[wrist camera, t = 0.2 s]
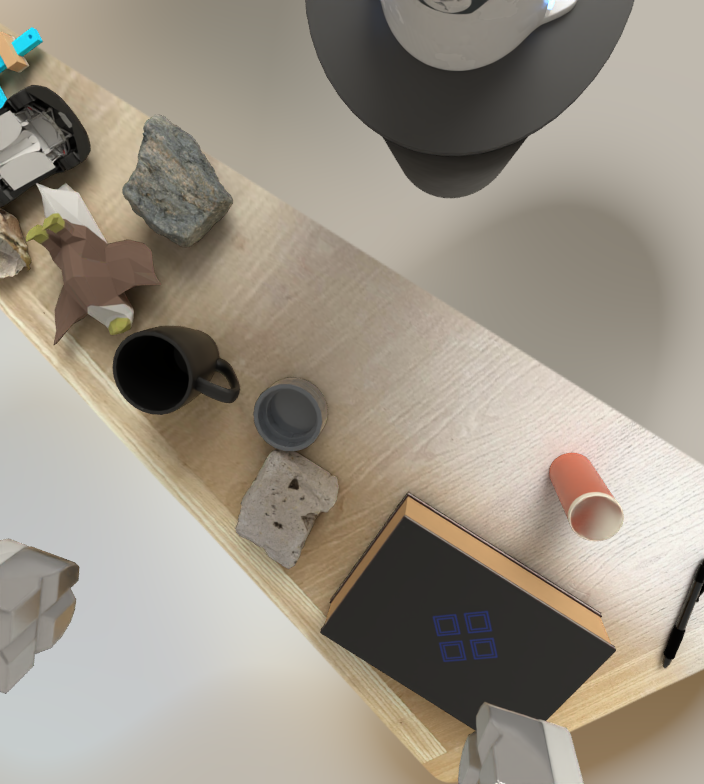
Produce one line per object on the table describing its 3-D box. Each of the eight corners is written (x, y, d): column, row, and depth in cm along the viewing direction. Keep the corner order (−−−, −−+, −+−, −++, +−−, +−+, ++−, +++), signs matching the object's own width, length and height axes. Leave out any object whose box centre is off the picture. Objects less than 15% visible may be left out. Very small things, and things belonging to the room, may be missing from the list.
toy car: (43, 76, 49) (59, 67, 53) (-78, 149, 53) (-55, 136, 56) (99, 153, 54) (111, 140, 57) (-15, 216, 57) (3, 200, 61)
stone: (351, 465, 60) (269, 433, 61) (337, 491, 55) (248, 455, 56) (320, 555, 65) (245, 523, 67) (305, 586, 60) (224, 552, 61)
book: (506, 705, 65) (512, 754, 59) (331, 595, 65) (319, 633, 59) (598, 608, 60) (616, 650, 54) (408, 488, 60) (404, 517, 54)
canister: (557, 446, 56) (580, 488, 47) (600, 459, 56) (632, 503, 46) (542, 484, 57) (561, 532, 48) (584, 497, 57) (612, 547, 48)
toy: (156, 162, 55) (117, 151, 49) (196, 318, 59) (164, 328, 52) (26, 195, 59) (-28, 188, 52) (71, 340, 62) (26, 352, 56)
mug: (251, 412, 61) (217, 442, 52) (154, 374, 62) (104, 397, 53) (271, 345, 58) (239, 364, 49) (170, 306, 59) (121, 318, 50)
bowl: (271, 368, 59) (261, 375, 56) (335, 387, 58) (329, 395, 55) (258, 429, 61) (247, 439, 58) (320, 448, 61) (313, 459, 57)
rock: (250, 230, 56) (236, 225, 51) (162, 259, 57) (140, 256, 52) (211, 107, 54) (193, 89, 49) (121, 140, 55) (94, 125, 51)
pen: (721, 562, 56) (713, 556, 57) (706, 561, 56) (698, 554, 57) (676, 671, 60) (670, 663, 61) (662, 670, 59) (656, 662, 60)
